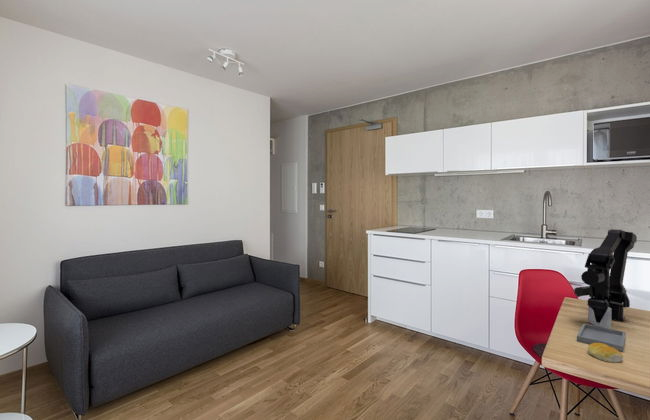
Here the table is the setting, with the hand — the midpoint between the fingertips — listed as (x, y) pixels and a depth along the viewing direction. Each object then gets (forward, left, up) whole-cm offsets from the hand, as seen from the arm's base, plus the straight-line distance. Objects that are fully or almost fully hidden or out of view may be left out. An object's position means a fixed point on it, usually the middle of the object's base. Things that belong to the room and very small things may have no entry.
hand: (599, 319), depth 136 cm
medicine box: (0, 0, -3) cm, 3 cm away
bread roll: (+34, +4, -3) cm, 34 cm away
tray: (+17, +2, -2) cm, 17 cm away
